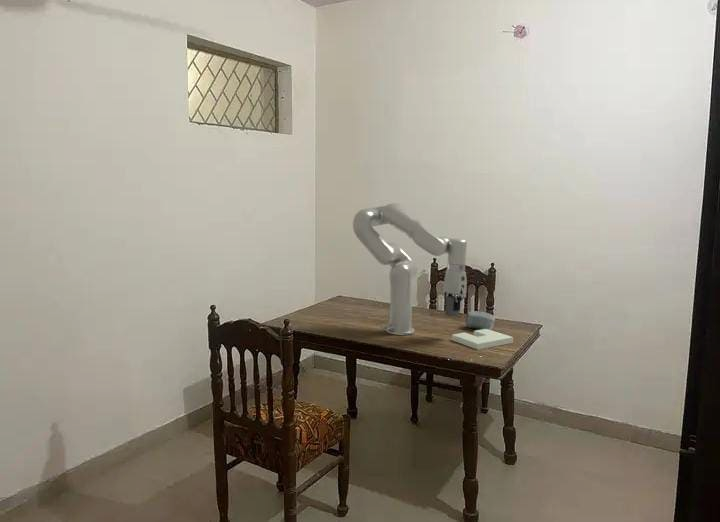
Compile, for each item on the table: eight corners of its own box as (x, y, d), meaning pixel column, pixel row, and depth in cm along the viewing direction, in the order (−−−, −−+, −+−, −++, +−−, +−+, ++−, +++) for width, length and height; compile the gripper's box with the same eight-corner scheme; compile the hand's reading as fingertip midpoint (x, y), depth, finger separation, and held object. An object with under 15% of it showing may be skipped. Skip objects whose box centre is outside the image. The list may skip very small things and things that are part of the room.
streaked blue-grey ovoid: (458, 321, 256) (469, 302, 256) (466, 327, 263) (477, 308, 263) (482, 334, 247) (493, 314, 247) (490, 339, 254) (501, 320, 255)
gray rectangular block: (451, 316, 237) (452, 298, 236) (445, 314, 240) (446, 296, 239) (458, 315, 239) (459, 297, 238) (452, 313, 243) (453, 295, 241)
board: (478, 349, 223) (478, 343, 223) (451, 340, 236) (451, 334, 236) (513, 342, 233) (513, 337, 233) (485, 334, 247) (486, 328, 247)
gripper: (476, 270, 232) (472, 313, 235) (449, 264, 246) (446, 304, 249) (462, 271, 228) (459, 314, 231) (436, 265, 242) (433, 305, 245)
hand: (452, 308), depth 240 cm, fingers closed on gray rectangular block, 4 cm apart
